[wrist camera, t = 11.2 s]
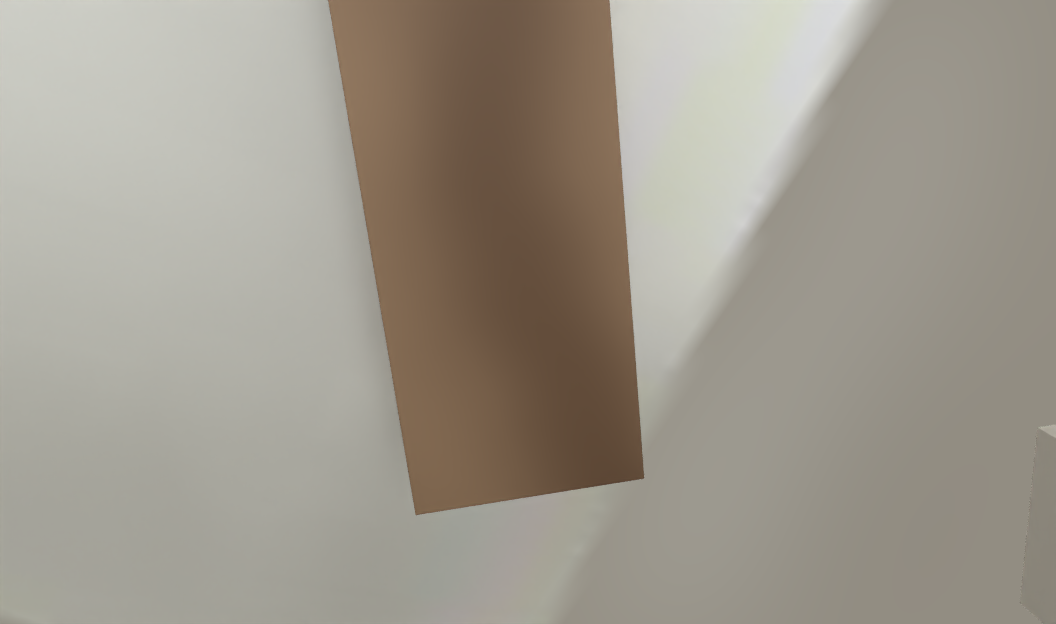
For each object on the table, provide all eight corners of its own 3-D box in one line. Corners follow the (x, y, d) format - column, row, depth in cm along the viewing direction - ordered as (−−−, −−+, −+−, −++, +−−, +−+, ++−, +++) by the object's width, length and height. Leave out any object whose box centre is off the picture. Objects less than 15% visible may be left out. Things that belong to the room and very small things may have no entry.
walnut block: (419, 379, 24) (415, 514, 17) (332, -166, 20) (274, -317, 12) (577, 357, 25) (644, 478, 17) (526, -182, 21) (584, -338, 13)
